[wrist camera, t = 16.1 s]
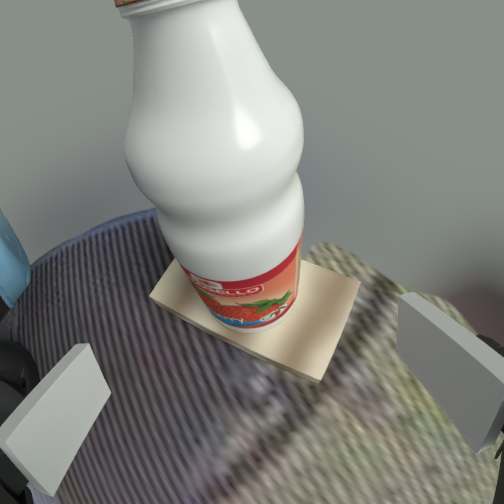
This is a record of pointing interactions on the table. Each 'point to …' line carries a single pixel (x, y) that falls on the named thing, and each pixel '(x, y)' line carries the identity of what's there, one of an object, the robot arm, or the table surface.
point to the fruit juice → (217, 156)
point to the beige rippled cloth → (283, 335)
